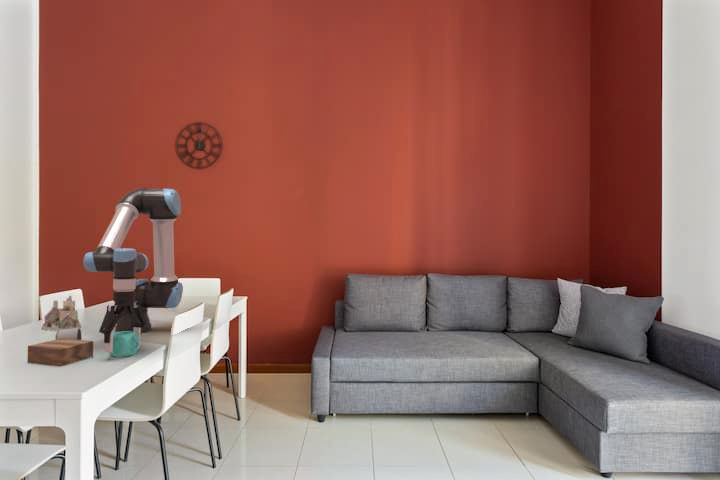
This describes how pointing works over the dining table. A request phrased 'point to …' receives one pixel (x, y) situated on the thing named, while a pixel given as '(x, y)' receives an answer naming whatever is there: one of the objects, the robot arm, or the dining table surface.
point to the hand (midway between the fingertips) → (123, 348)
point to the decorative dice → (125, 343)
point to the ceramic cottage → (62, 317)
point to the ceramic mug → (69, 334)
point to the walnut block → (60, 352)
